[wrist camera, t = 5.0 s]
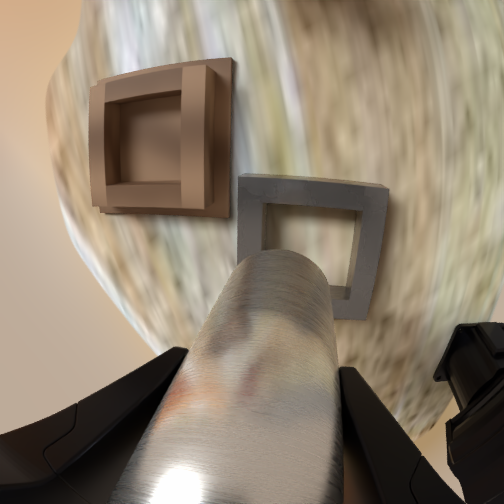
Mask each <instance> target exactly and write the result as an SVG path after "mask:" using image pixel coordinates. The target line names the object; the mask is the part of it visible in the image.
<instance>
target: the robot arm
mask: <svg viewBox="0 0 504 504" xmlns="http://www.w3.org/2000/svg"><path fill="white" fill-rule="evenodd" d="M460 329H461V330H460ZM459 330H460V331H459ZM188 352H189V350H188V349H187V348H182V347H173V348H171V349H169V350H168V351H166V352H164V353H163V354H161V355H159V356H158V357H156V358H154V359H153V360H151V361H149V362H147V363H146V364H144V365H143V366H141V367H139V368H137V369H136V370H134V371H132V372H130V373H129V374H127V375H126V376H123V377H122V378H120V379H118V380H116V381H115V382H113V383H111V384H109V385H108V386H106V387H104V388H102V389H100V390H99V391H97V392H95V393H93V394H91V395H90V396H88V397H86V398H84V399H83V400H80V401H79V402H78V404H77V403H75V404H73V405H71V406H69V407H67V408H66V409H63V410H61V411H59V412H57V413H55V414H53V415H51V416H49V417H47V418H44V419H42V420H39V421H37V422H34V423H32V424H29V425H27V426H24V427H21V428H18V429H15V430H13V431H10V432H7V433H4V434H1V435H0V504H106V503H107V501H108V499H109V497H110V495H111V494H112V492H113V490H114V488H115V486H116V484H117V482H118V480H119V479H120V477H121V475H122V473H123V471H124V469H125V467H126V465H127V464H128V462H129V460H130V458H131V456H132V454H133V452H134V451H135V449H136V447H137V445H138V443H139V441H140V439H141V438H142V436H143V434H144V432H145V430H146V428H147V427H148V425H149V423H150V421H151V419H152V417H153V415H154V414H155V412H156V410H157V408H158V406H159V404H160V403H161V401H162V399H163V397H164V395H165V393H166V392H167V390H168V388H169V386H170V384H171V382H172V381H173V379H174V377H175V375H176V373H177V372H178V370H179V368H180V366H181V364H182V362H183V361H184V359H185V357H186V355H187V353H188ZM339 377H340V390H341V405H342V423H343V451H344V504H466V503H467V504H504V323H497V322H482V323H472V324H459V325H457V326H456V328H455V330H454V332H453V334H452V337H451V339H450V342H449V344H448V346H447V348H446V351H445V353H444V355H443V357H442V359H441V361H440V364H439V366H438V368H437V370H436V372H435V374H434V376H433V378H434V381H435V382H440V381H448V383H449V385H450V387H451V390H452V392H453V395H454V397H455V399H456V402H457V405H458V407H459V410H460V413H458V414H457V415H456V416H455V417H453V418H452V419H450V420H448V421H447V422H446V423H445V424H446V441H447V464H448V466H449V467H450V470H451V471H452V473H453V474H454V475H455V477H457V479H459V482H460V484H461V487H462V491H463V495H464V499H465V502H466V503H465V502H464V501H463V500H462V499H461V498H460V497H459V496H458V495H457V494H456V493H455V492H454V491H453V490H452V489H451V488H450V487H449V486H448V485H447V484H446V483H445V482H444V481H443V480H442V478H441V477H440V476H439V475H438V473H437V472H436V471H435V470H434V469H433V467H432V466H431V465H430V464H429V462H428V461H427V460H426V458H425V457H424V456H421V452H420V451H419V449H418V448H417V447H416V445H415V444H414V443H413V442H412V440H411V439H410V438H409V436H408V435H407V434H406V433H405V431H404V430H403V429H402V427H401V426H400V425H399V423H398V422H397V421H396V420H395V418H394V417H393V416H392V414H391V413H390V412H389V411H388V409H387V408H386V407H385V405H384V404H383V403H382V402H381V400H380V399H379V398H378V396H377V395H376V394H375V393H374V391H373V390H372V389H371V387H370V386H369V385H368V384H367V382H366V381H365V380H364V379H363V377H362V376H361V375H360V373H359V372H358V371H357V370H356V368H354V367H343V366H342V367H340V368H339Z"/></svg>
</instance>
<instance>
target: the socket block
mask: <svg viewBox="0 0 504 504" xmlns="http://www.w3.org/2000/svg"><path fill="white" fill-rule="evenodd" d="M388 196H389V189H388V188H387V187H385V186H383V185H381V184H373V183H365V182H356V181H347V180H337V179H326V178H315V177H302V176H287V175H269V174H246V173H245V174H243V175H240V176H238V237H237V265H238V264H239V263H240V262H241V261H243V260H244V259H245V258H247V257H249V256H250V255H252V254H255V253H257V252H260V251H264V250H265V236H266V209H267V203H277V204H291V205H304V206H317V207H328V208H339V209H349V210H357V212H356V221H355V229H354V237H353V244H352V251H351V258H350V264H349V271H348V277H347V283H346V287H344V286H332V285H329V289H330V295H331V302H332V310H333V318H336V319H351V320H366V317H367V313H368V309H369V305H370V301H371V296H372V292H373V287H374V283H375V278H376V273H377V268H378V263H379V257H380V252H381V246H382V240H383V233H384V227H385V220H386V213H387V205H388Z"/></svg>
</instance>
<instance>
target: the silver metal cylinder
mask: <svg viewBox="0 0 504 504" xmlns="http://www.w3.org/2000/svg"><path fill="white" fill-rule="evenodd" d="M106 504H344V451H343V423H342V405H341V390H340V377H339V365H338V355H337V345H336V335H335V327H334V318H333V310H332V302H331V295H330V289H329V284H328V282H327V279H326V277H325V275H324V274H323V272H322V271H321V270H320V268H319V267H318V266H317V265H316V264H315V263H314V262H312V261H311V260H310V259H308V258H307V257H305V256H303V255H301V254H299V253H296V252H293V251H289V250H283V249H271V250H264V251H260V252H257V253H255V254H252V255H250V256H249V257H247V258H245V259H244V260H243V261H241V262H240V263H239V264H238V265H237V267H236V268H235V269H234V270H233V272H232V274H231V276H230V278H229V279H228V281H227V283H226V285H225V287H224V288H223V290H222V292H221V294H220V296H219V297H218V299H217V301H216V303H215V305H214V306H213V308H212V310H211V312H210V314H209V315H208V317H207V319H206V321H205V323H204V324H203V326H202V328H201V330H200V332H199V333H198V335H197V337H196V339H195V341H194V342H193V344H192V346H191V348H190V350H189V352H188V353H187V355H186V357H185V359H184V361H183V362H182V364H181V366H180V368H179V370H178V372H177V373H176V375H175V377H174V379H173V381H172V382H171V384H170V386H169V388H168V390H167V392H166V393H165V395H164V397H163V399H162V401H161V403H160V404H159V406H158V408H157V410H156V412H155V414H154V415H153V417H152V419H151V421H150V423H149V425H148V427H147V428H146V430H145V432H144V434H143V436H142V438H141V439H140V441H139V443H138V445H137V447H136V449H135V451H134V452H133V454H132V456H131V458H130V460H129V462H128V464H127V465H126V467H125V469H124V471H123V473H122V475H121V477H120V479H119V480H118V482H117V484H116V486H115V488H114V490H113V492H112V494H111V495H110V497H109V499H108V501H107V503H106Z"/></svg>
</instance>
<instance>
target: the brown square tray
mask: <svg viewBox="0 0 504 504" xmlns="http://www.w3.org/2000/svg"><path fill="white" fill-rule="evenodd" d="M232 65H233V59H232V58H218V59H207V60H198V61H190V62H182V63H176V64H169V65H164V66H158V67H153V68H148V69H143V70H138V71H134V72H129V73H125V74H121V75H117V76H113V77H109V78H106V79H102V80H99V81H98V82H97V85H96V86H93V87H90V98H89V167H90V184H91V196H92V206H99V208H100V213H130V214H159V215H182V216H202V217H220V218H229V217H230V146H231V98H232Z"/></svg>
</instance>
